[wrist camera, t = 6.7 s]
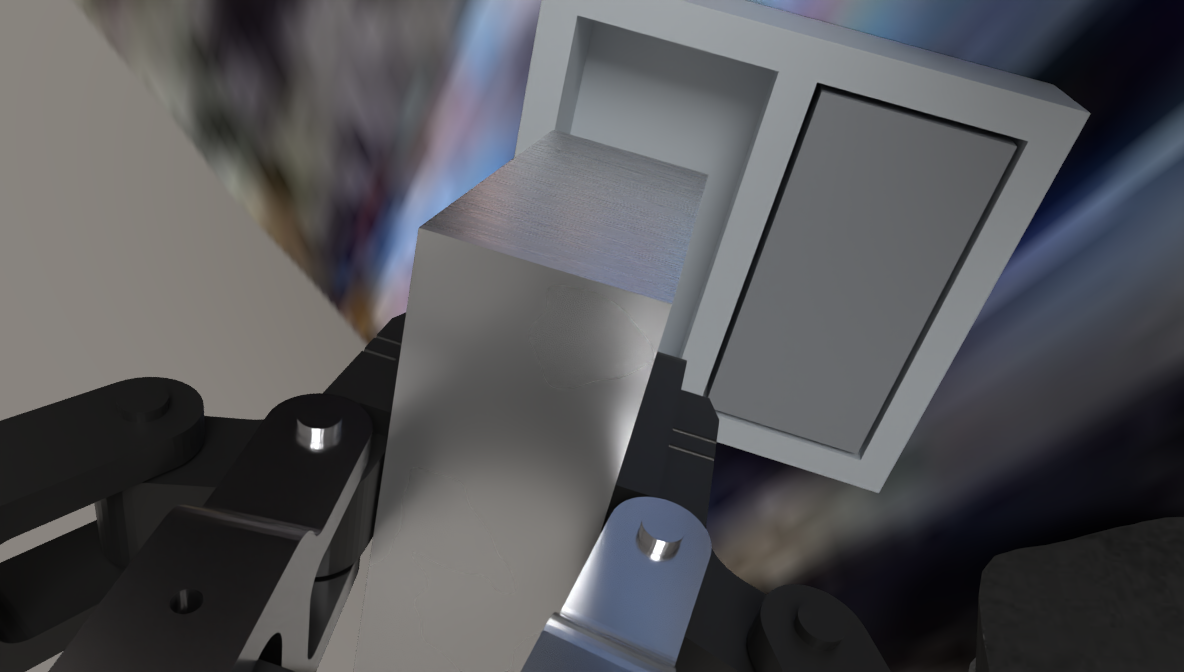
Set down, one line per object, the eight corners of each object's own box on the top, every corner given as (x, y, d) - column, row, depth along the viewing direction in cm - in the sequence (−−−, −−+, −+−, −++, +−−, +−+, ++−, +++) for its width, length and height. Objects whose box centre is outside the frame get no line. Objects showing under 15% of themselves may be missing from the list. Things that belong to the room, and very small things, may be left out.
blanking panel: (552, 129, 14) (418, 227, 8) (708, 174, 14) (672, 304, 8) (483, 452, 17) (352, 674, 12) (609, 493, 17) (535, 738, 11)
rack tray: (577, -46, 18) (548, -37, 16) (1053, 84, 18) (1090, 113, 15) (504, 337, 24) (474, 383, 22) (862, 449, 23) (869, 509, 21)
